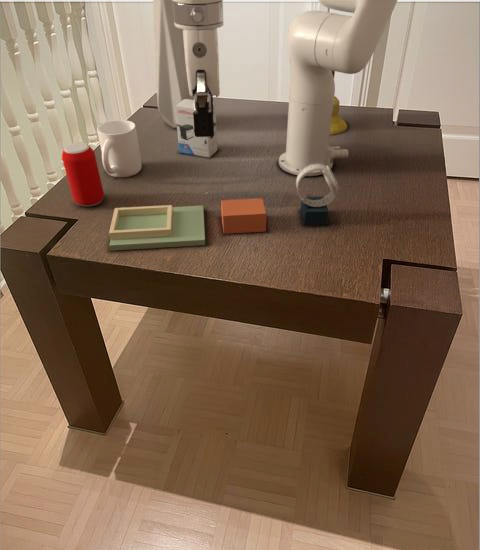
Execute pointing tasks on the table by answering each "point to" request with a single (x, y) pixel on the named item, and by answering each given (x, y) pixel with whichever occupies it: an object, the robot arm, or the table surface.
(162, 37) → the vase
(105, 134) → the mug
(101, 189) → the beverage can
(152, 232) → the base pad
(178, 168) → the table surface
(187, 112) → the ink box
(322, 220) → the grey ring dark base
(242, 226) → the orange box
